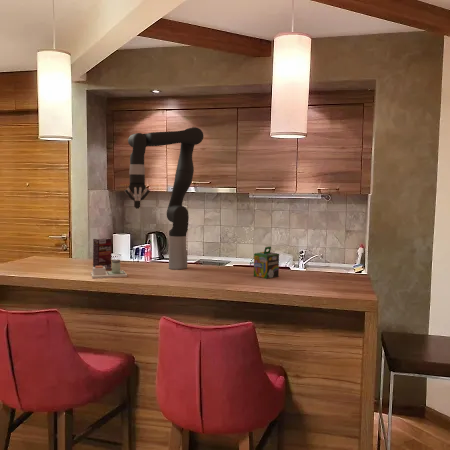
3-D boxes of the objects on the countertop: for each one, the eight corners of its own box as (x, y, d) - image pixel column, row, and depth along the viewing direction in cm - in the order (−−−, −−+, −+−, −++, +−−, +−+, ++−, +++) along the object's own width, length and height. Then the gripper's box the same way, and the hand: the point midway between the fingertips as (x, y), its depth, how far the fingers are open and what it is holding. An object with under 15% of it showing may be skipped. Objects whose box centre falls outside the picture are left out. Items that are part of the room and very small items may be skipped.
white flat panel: (123, 272, 242) (123, 270, 242) (127, 276, 231) (127, 274, 231) (90, 273, 237) (90, 271, 237) (92, 278, 226) (92, 276, 226)
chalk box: (265, 274, 244) (265, 244, 242) (279, 276, 237) (280, 246, 236) (252, 276, 237) (253, 246, 236) (267, 279, 231) (267, 248, 229)
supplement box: (98, 270, 247) (98, 239, 245) (92, 269, 249) (92, 238, 248) (112, 268, 253) (112, 238, 252) (106, 267, 256) (106, 237, 255)
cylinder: (117, 271, 238) (117, 259, 237) (121, 272, 235) (121, 260, 234) (110, 272, 235) (110, 260, 234) (114, 273, 232) (114, 261, 231)
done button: (102, 270, 234) (102, 265, 234) (102, 271, 231) (102, 266, 231) (95, 270, 233) (95, 265, 233) (95, 271, 230) (95, 266, 230)
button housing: (104, 272, 236) (104, 266, 236) (105, 274, 231) (105, 268, 230) (92, 273, 234) (92, 266, 234) (93, 275, 229) (93, 268, 228)
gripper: (124, 173, 236) (125, 208, 237) (151, 174, 240) (151, 208, 242) (122, 173, 243) (122, 208, 244) (148, 174, 247) (148, 208, 249)
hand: (137, 208), depth 243 cm, fingers closed
